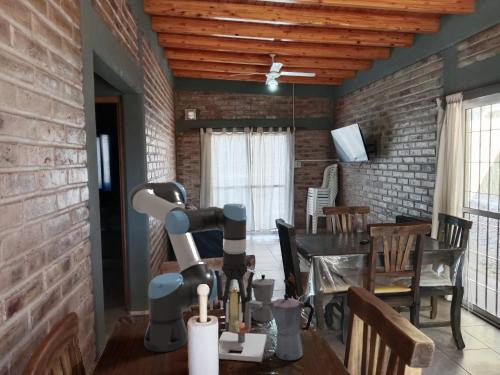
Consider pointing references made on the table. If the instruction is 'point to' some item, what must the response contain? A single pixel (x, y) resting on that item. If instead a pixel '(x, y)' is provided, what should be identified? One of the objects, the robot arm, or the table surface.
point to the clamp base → (242, 346)
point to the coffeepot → (263, 298)
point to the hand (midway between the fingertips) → (234, 321)
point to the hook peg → (234, 310)
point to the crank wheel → (247, 325)
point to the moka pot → (289, 326)
